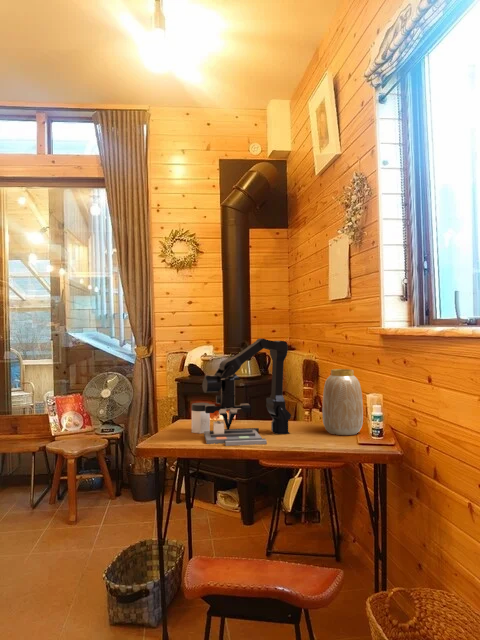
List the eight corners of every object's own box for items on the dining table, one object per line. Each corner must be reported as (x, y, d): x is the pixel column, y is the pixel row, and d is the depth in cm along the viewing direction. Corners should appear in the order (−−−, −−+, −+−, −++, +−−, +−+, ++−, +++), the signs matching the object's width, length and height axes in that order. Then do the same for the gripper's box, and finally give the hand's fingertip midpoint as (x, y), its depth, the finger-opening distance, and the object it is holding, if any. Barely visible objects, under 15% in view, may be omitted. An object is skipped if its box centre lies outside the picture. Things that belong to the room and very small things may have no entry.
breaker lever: (223, 433, 187) (223, 420, 187) (224, 435, 182) (224, 422, 182) (213, 433, 186) (213, 421, 186) (214, 436, 182) (214, 423, 182)
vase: (366, 429, 200) (365, 369, 201) (359, 438, 184) (358, 372, 185) (327, 426, 207) (327, 367, 208) (318, 434, 192) (317, 370, 192)
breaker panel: (255, 432, 194) (255, 427, 194) (262, 441, 179) (262, 435, 179) (204, 434, 191) (204, 428, 191) (206, 444, 175) (206, 437, 175)
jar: (196, 434, 192) (196, 406, 192) (187, 430, 199) (187, 403, 199) (214, 431, 197) (214, 404, 197) (205, 428, 204) (205, 401, 204)
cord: (258, 431, 198) (258, 428, 198) (258, 431, 196) (258, 428, 196) (217, 432, 195) (217, 429, 195) (217, 433, 194) (217, 430, 194)
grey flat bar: (264, 442, 178) (264, 438, 178) (266, 444, 175) (266, 440, 175) (224, 443, 176) (224, 440, 176) (225, 445, 173) (225, 441, 173)
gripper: (247, 388, 194) (247, 424, 194) (204, 389, 192) (203, 426, 191) (251, 391, 183) (251, 430, 183) (205, 392, 181) (205, 431, 180)
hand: (228, 429), depth 185 cm, fingers closed
